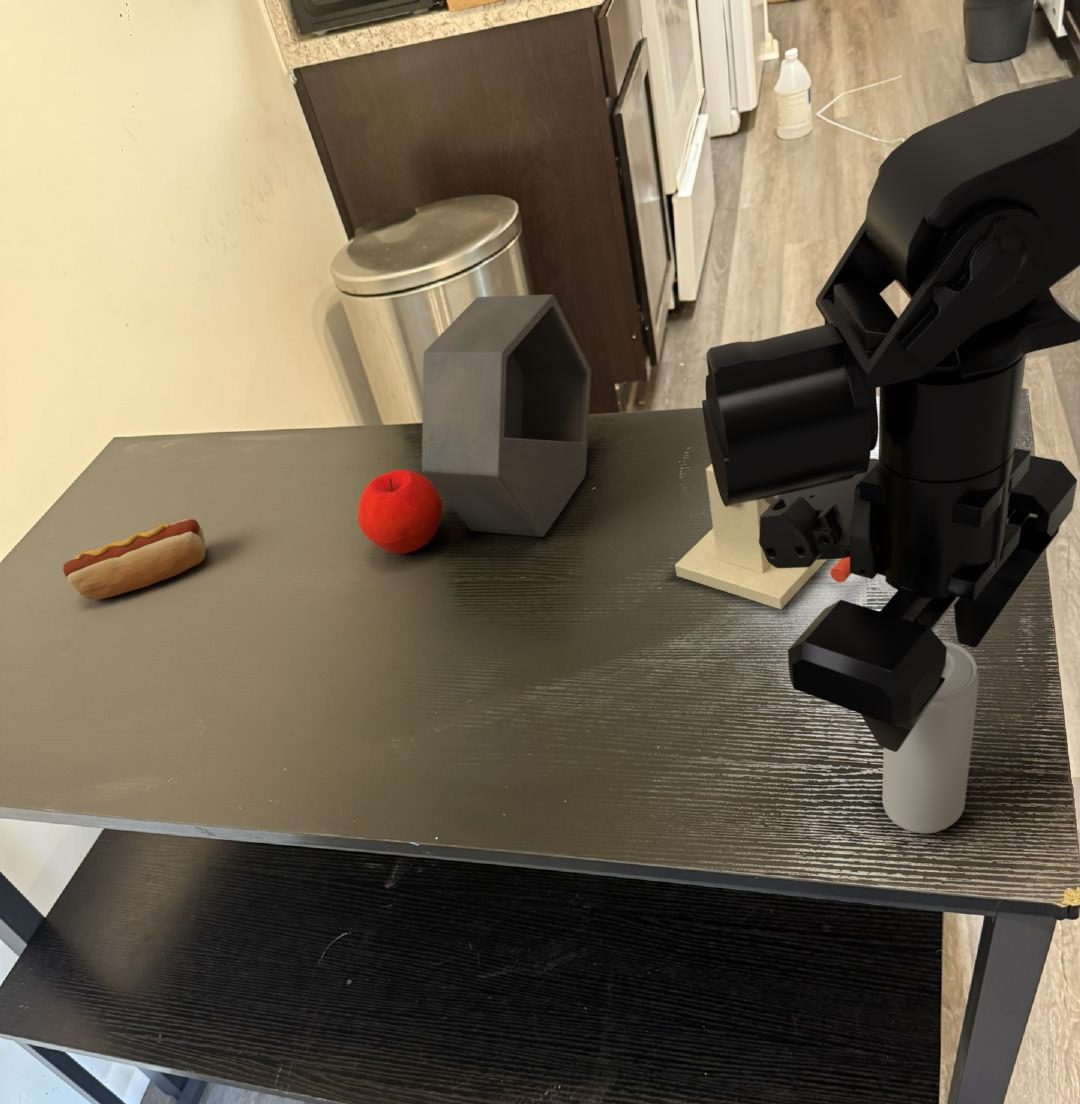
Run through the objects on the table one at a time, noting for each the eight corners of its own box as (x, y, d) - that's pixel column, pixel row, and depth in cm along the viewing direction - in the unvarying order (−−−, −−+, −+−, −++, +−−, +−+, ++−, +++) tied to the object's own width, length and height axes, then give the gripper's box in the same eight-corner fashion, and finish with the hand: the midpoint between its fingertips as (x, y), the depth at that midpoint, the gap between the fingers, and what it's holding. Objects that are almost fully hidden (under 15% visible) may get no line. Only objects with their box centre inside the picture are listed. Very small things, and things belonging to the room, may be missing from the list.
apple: (408, 580, 92) (382, 513, 87) (356, 557, 97) (328, 492, 92) (469, 533, 96) (447, 465, 90) (415, 512, 100) (391, 447, 95)
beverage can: (970, 786, 63) (987, 643, 55) (956, 846, 60) (972, 705, 52) (890, 772, 65) (894, 632, 57) (873, 829, 62) (875, 691, 54)
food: (83, 616, 100) (55, 577, 97) (86, 587, 104) (59, 548, 101) (216, 569, 101) (193, 528, 98) (213, 541, 105) (192, 501, 102)
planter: (496, 542, 85) (505, 277, 79) (420, 535, 88) (423, 281, 83) (583, 532, 99) (595, 308, 94) (515, 527, 103) (523, 310, 97)
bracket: (840, 545, 82) (838, 438, 75) (781, 610, 78) (773, 504, 71) (736, 517, 88) (725, 416, 81) (676, 576, 84) (660, 475, 77)
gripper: (881, 328, 54) (878, 561, 65) (677, 519, 46) (713, 749, 57) (1102, 356, 47) (1058, 610, 58) (909, 585, 39) (900, 831, 50)
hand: (929, 693), depth 56 cm, fingers open, 9 cm apart
